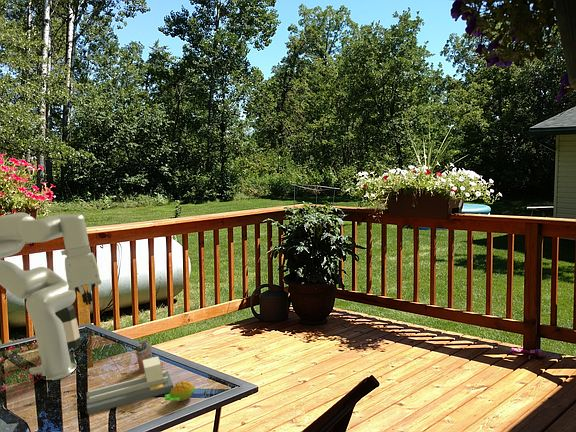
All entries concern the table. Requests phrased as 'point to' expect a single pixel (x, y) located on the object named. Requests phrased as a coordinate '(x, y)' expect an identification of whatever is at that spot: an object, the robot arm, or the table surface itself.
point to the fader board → (127, 393)
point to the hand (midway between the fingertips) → (88, 303)
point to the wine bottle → (70, 326)
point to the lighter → (143, 353)
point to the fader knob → (152, 369)
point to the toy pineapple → (180, 391)
